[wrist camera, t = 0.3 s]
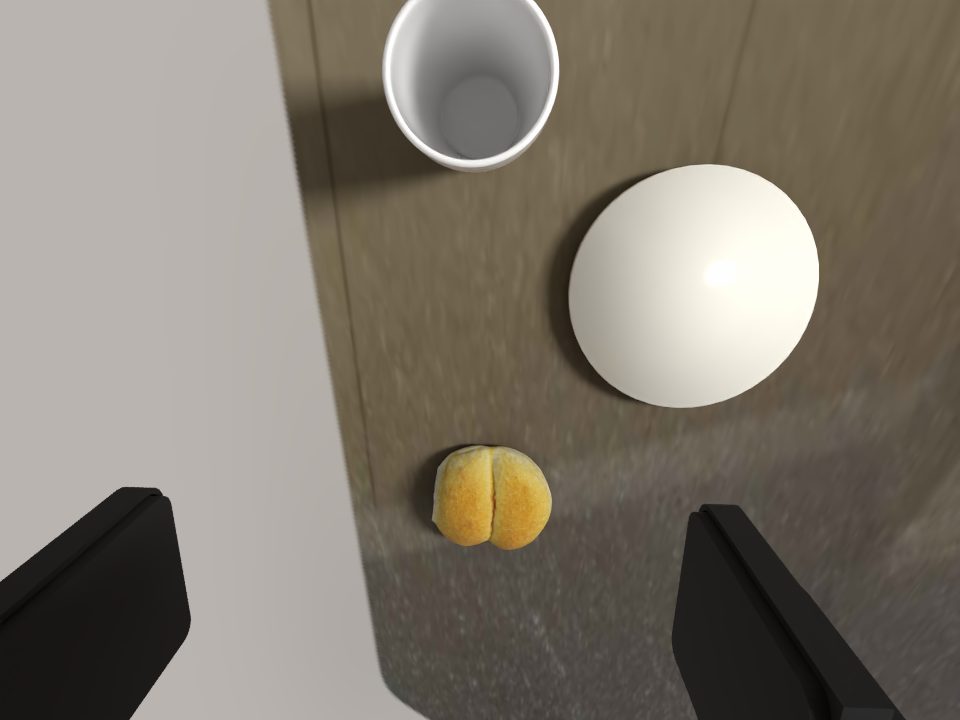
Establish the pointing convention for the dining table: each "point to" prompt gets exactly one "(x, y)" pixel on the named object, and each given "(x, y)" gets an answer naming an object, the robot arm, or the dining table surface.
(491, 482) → the bread roll
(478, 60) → the white cup
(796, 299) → the cream dish
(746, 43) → the dining table surface
